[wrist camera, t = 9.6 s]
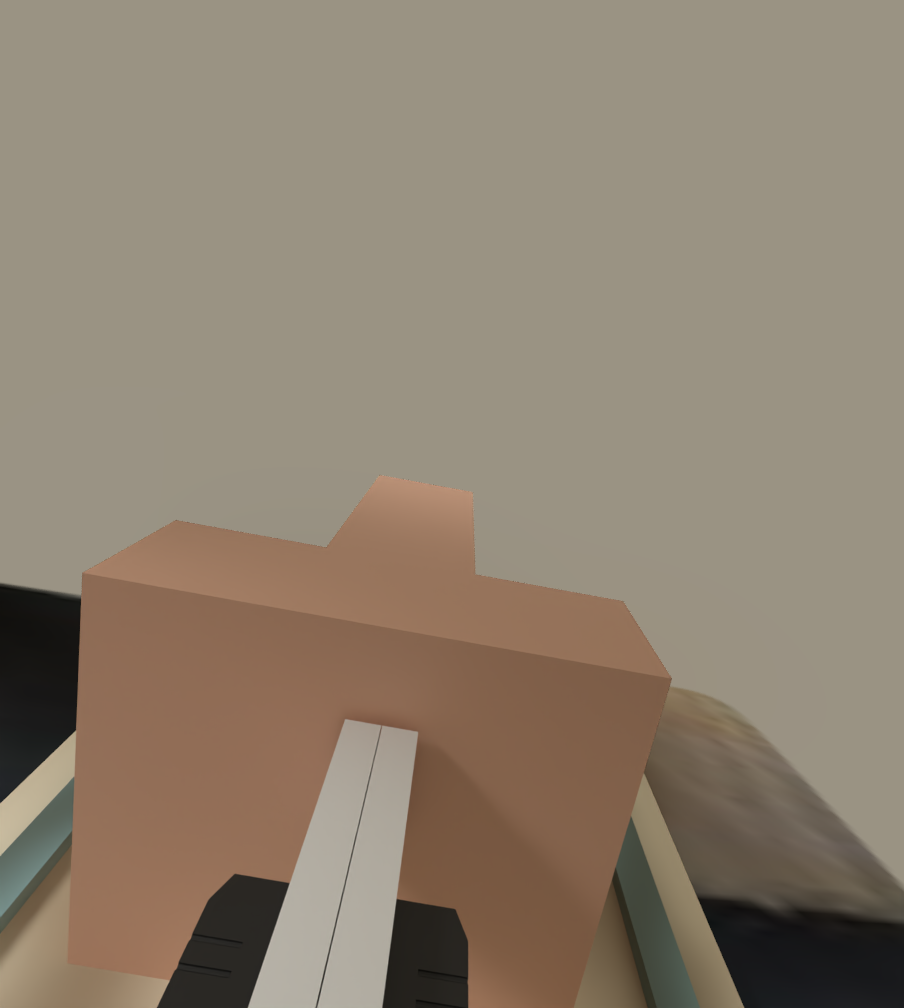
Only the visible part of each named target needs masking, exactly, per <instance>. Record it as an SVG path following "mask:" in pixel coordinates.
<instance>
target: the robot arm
mask: <svg viewBox="0 0 904 1008" xmlns="http://www.w3.org/2000/svg"><path fill="white" fill-rule="evenodd" d="M380 730H381V733H380ZM379 736H380V738H379ZM417 738H418V732H416V731H411V730H405V729H399V728H393V727H388V726H382V729H381V725H376V724H371V723H365V722H359V721H354V720H348V719H345V721H344V724H343V727H342V730H341V733H340V736H339V739H338V742H337V745H336V748H335V751H334V754H333V757H332V760H331V763H330V766H329V769H328V772H327V775H326V778H325V781H324V783H323V786H322V789H321V792H320V795H319V798H318V801H317V804H316V807H315V810H314V813H313V816H312V819H311V822H310V825H309V828H308V831H307V834H306V837H305V840H304V843H303V846H302V849H301V852H300V855H299V858H298V861H297V864H296V867H295V870H294V872H293V875H292V878H291V881H290V883H287V882H281V881H275V880H269V879H263V878H257V877H252V876H246V875H240V874H234V875H233V876H232V877H231V878H230V879H229V880H228V881H227V882H226V883H225V884H224V885H223V886H222V887H221V888H220V889H219V890H218V891H217V892H216V893H215V894H214V895H213V896H212V897H210V898H209V899H208V901H207V903H206V906H205V908H204V910H203V912H202V914H201V916H200V918H199V920H198V922H197V924H196V927H195V929H194V931H193V933H192V936H191V939H190V940H189V941H188V943H187V945H186V947H185V950H184V952H183V954H182V956H181V958H180V960H179V962H178V966H177V969H176V970H175V971H174V973H173V975H172V977H171V979H170V981H169V983H168V985H167V987H166V989H165V992H164V994H163V996H162V998H161V1000H160V1002H159V1004H158V1006H157V1008H468V939H467V937H466V934H465V932H464V929H463V927H462V924H461V922H460V919H459V917H458V914H457V912H456V909H452V908H446V907H441V906H435V905H429V904H423V903H417V902H411V901H405V900H399V899H396V898H397V891H398V883H399V876H400V868H401V860H402V853H403V845H404V837H405V830H406V822H407V814H408V807H409V799H410V792H411V784H412V776H413V769H414V761H415V753H416V746H417Z"/></svg>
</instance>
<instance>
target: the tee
mask: <svg viewBox="0 0 904 1008" xmlns="http://www.w3.org/2000/svg"><path fill="white" fill-rule="evenodd" d="M671 680H672V678H671V676H670V675H669V673H668V672H667V670H666V669H665V667H664V665H663V664H662V662H661V661H660V659H659V657H658V656H657V654H656V653H655V651H654V650H653V648H652V646H651V645H650V643H649V642H648V640H647V638H646V637H645V635H644V634H643V632H642V630H641V629H640V627H639V626H638V624H637V623H636V621H635V619H634V618H633V616H632V615H631V613H630V611H629V610H628V608H627V607H626V605H625V603H624V602H623V601H619V600H613V599H608V598H601V597H597V596H591V595H585V594H580V593H574V592H569V591H563V590H558V589H553V588H547V587H542V586H536V585H531V584H525V583H519V582H514V581H508V580H502V579H497V578H492V577H486V576H481V575H475V548H474V518H473V493H472V492H469V491H463V490H458V489H453V488H447V487H442V486H436V485H431V484H425V483H420V482H414V481H409V480H404V479H398V478H392V477H387V476H382V475H379V477H378V478H377V479H376V481H375V482H374V483H373V485H372V486H371V488H370V489H369V490H368V492H367V493H366V494H365V496H364V497H363V498H362V500H361V501H360V502H359V504H358V505H357V506H356V508H355V509H354V511H353V512H352V514H351V515H350V516H349V517H348V519H347V520H346V521H345V523H344V524H343V525H342V527H341V528H340V530H339V531H338V532H337V534H336V535H335V536H334V538H333V539H332V541H331V542H330V543H329V545H328V546H327V547H320V546H315V545H310V544H304V543H299V542H293V541H288V540H282V539H277V538H271V537H266V536H260V535H255V534H249V533H243V532H238V531H232V530H227V529H221V528H216V527H211V526H205V525H199V524H194V523H189V522H183V521H178V520H175V521H173V522H172V523H170V524H168V525H166V526H165V527H163V528H161V529H159V530H158V531H156V532H154V533H152V534H150V535H149V536H147V537H145V538H143V539H142V540H140V541H138V542H136V543H135V544H133V545H131V546H130V547H127V548H126V549H124V550H122V551H120V552H119V553H117V554H115V555H113V556H112V557H110V558H108V559H106V560H104V561H103V562H101V563H99V564H97V565H96V566H94V567H92V568H90V569H88V570H87V571H85V572H83V573H82V594H81V620H80V646H79V672H78V698H77V724H76V750H75V776H74V802H73V828H72V854H71V880H70V906H69V932H68V958H67V963H69V964H75V965H81V966H87V967H92V968H98V969H104V970H110V971H116V972H122V973H128V974H134V975H140V976H146V977H152V978H158V979H164V980H170V979H171V977H172V975H173V973H174V971H175V970H176V969H177V966H178V962H179V960H180V958H181V956H182V954H183V952H184V950H185V947H186V945H187V943H188V941H189V940H190V939H191V936H192V933H193V931H194V929H195V927H196V924H197V922H198V920H199V918H200V916H201V914H202V912H203V910H204V908H205V906H206V903H207V901H208V899H209V898H210V897H212V896H213V895H214V894H215V893H216V892H217V891H218V890H219V889H220V888H221V887H222V886H223V885H224V884H225V883H226V882H227V881H228V880H229V879H230V878H231V877H232V876H233V875H234V874H240V875H246V876H252V877H257V878H263V879H269V880H275V881H281V882H287V883H290V881H291V878H292V875H293V872H294V870H295V867H296V864H297V861H298V858H299V855H300V852H301V849H302V846H303V843H304V840H305V837H306V834H307V831H308V828H309V825H310V822H311V819H312V816H313V813H314V810H315V807H316V804H317V801H318V798H319V795H320V792H321V789H322V786H323V783H324V781H325V778H326V775H327V772H328V769H329V766H330V763H331V760H332V757H333V754H334V751H335V748H336V745H337V742H338V739H339V736H340V733H341V730H342V727H343V724H344V721H345V719H348V720H354V721H359V722H365V723H371V724H376V725H381V729H382V726H388V727H393V728H399V729H405V730H411V731H416V732H418V738H417V746H416V753H415V761H414V769H413V776H412V784H411V792H410V799H409V807H408V814H407V822H406V830H405V837H404V845H403V853H402V860H401V868H400V876H399V883H398V891H397V898H396V899H399V900H405V901H411V902H417V903H423V904H429V905H435V906H441V907H446V908H452V909H456V912H457V914H458V917H459V919H460V922H461V924H462V927H463V929H464V932H465V934H466V937H467V939H468V1008H574V1005H575V1001H576V998H577V995H578V991H579V988H580V985H581V981H582V978H583V975H584V971H585V968H586V965H587V961H588V958H589V955H590V951H591V948H592V945H593V941H594V938H595V934H596V931H597V928H598V924H599V921H600V918H601V914H602V911H603V908H604V904H605V901H606V898H607V894H608V891H609V888H610V884H611V881H612V878H613V874H614V871H615V867H616V864H617V861H618V857H619V854H620V851H621V847H622V844H623V841H624V837H625V834H626V831H627V827H628V824H629V821H630V817H631V814H632V811H633V807H634V804H635V801H636V797H637V794H638V790H639V787H640V784H641V780H642V777H643V774H644V770H645V767H646V764H647V760H648V757H649V754H650V750H651V747H652V744H653V740H654V737H655V734H656V730H657V727H658V723H659V720H660V717H661V713H662V710H663V707H664V703H665V700H666V697H667V693H668V690H669V687H670V683H671ZM380 733H381V730H380ZM379 738H380V736H379Z"/></svg>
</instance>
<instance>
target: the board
mask: <svg viewBox="0 0 904 1008" xmlns="http://www.w3.org/2000/svg"><path fill="white" fill-rule="evenodd" d="M75 750H76V731H75V732H74V733H73V734H72V735H71V736H70V737H69V738H68V739H67V740H66V741H65V742H64V743H63V744H62V745H61V746H60V747H59V748H57V749H56V750H55V751H54V752H53V753H52V754H51V755H50V756H49V757H48V758H47V759H46V760H45V761H44V762H43V763H42V764H41V765H40V766H39V767H38V768H37V769H36V770H35V771H34V772H33V773H32V774H31V775H29V776H28V777H27V778H26V779H25V780H24V781H23V782H22V783H21V784H20V785H19V786H18V787H17V788H16V789H15V790H14V791H13V792H12V793H11V794H10V795H9V796H8V797H7V798H6V799H5V800H4V801H3V802H1V803H0V1008H157V1006H158V1004H159V1002H160V1000H161V998H162V996H163V994H164V992H165V989H166V987H167V985H168V983H169V981H170V980H164V979H158V978H152V977H146V976H140V975H134V974H128V973H122V972H116V971H110V970H104V969H98V968H92V967H87V966H81V965H75V964H69V963H67V958H68V932H69V906H70V880H71V854H72V828H73V802H74V776H75ZM574 1008H744V1006H743V1004H742V1002H741V999H740V997H739V995H738V992H737V990H736V987H735V985H734V983H733V980H732V978H731V976H730V973H729V971H728V969H727V966H726V964H725V962H724V959H723V957H722V955H721V952H720V950H719V948H718V945H717V943H716V941H715V938H714V936H713V934H712V931H711V929H710V926H709V924H708V922H707V919H706V917H705V915H704V912H703V910H702V908H701V905H700V903H699V901H698V898H697V896H696V894H695V891H694V889H693V887H692V884H691V882H690V880H689V877H688V875H687V873H686V870H685V868H684V865H683V863H682V861H681V858H680V856H679V854H678V851H677V849H676V847H675V844H674V842H673V840H672V837H671V835H670V833H669V830H668V828H667V826H666V823H665V821H664V819H663V816H662V814H661V812H660V809H659V807H658V804H657V802H656V800H655V797H654V795H653V793H652V790H651V788H650V786H649V783H648V781H647V779H646V776H645V774H643V777H642V780H641V784H640V787H639V790H638V794H637V797H636V801H635V804H634V807H633V811H632V814H631V817H630V821H629V824H628V827H627V831H626V834H625V837H624V841H623V844H622V847H621V851H620V854H619V857H618V861H617V864H616V867H615V871H614V874H613V878H612V881H611V884H610V888H609V891H608V894H607V898H606V901H605V904H604V908H603V911H602V914H601V918H600V921H599V924H598V928H597V931H596V934H595V938H594V941H593V945H592V948H591V951H590V955H589V958H588V961H587V965H586V968H585V971H584V975H583V978H582V981H581V985H580V988H579V991H578V995H577V998H576V1001H575V1005H574Z"/></svg>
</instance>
